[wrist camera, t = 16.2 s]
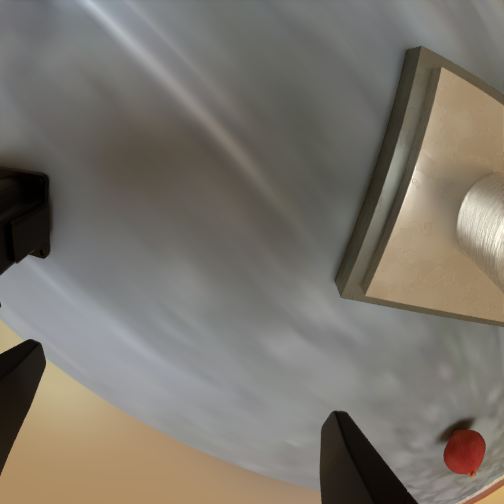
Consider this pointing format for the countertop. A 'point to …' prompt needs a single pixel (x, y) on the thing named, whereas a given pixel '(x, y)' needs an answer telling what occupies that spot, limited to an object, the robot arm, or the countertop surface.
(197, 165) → the countertop surface
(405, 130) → the arbor press
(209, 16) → the countertop surface
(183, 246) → the countertop surface
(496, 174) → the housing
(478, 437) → the onion
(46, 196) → the robot arm
